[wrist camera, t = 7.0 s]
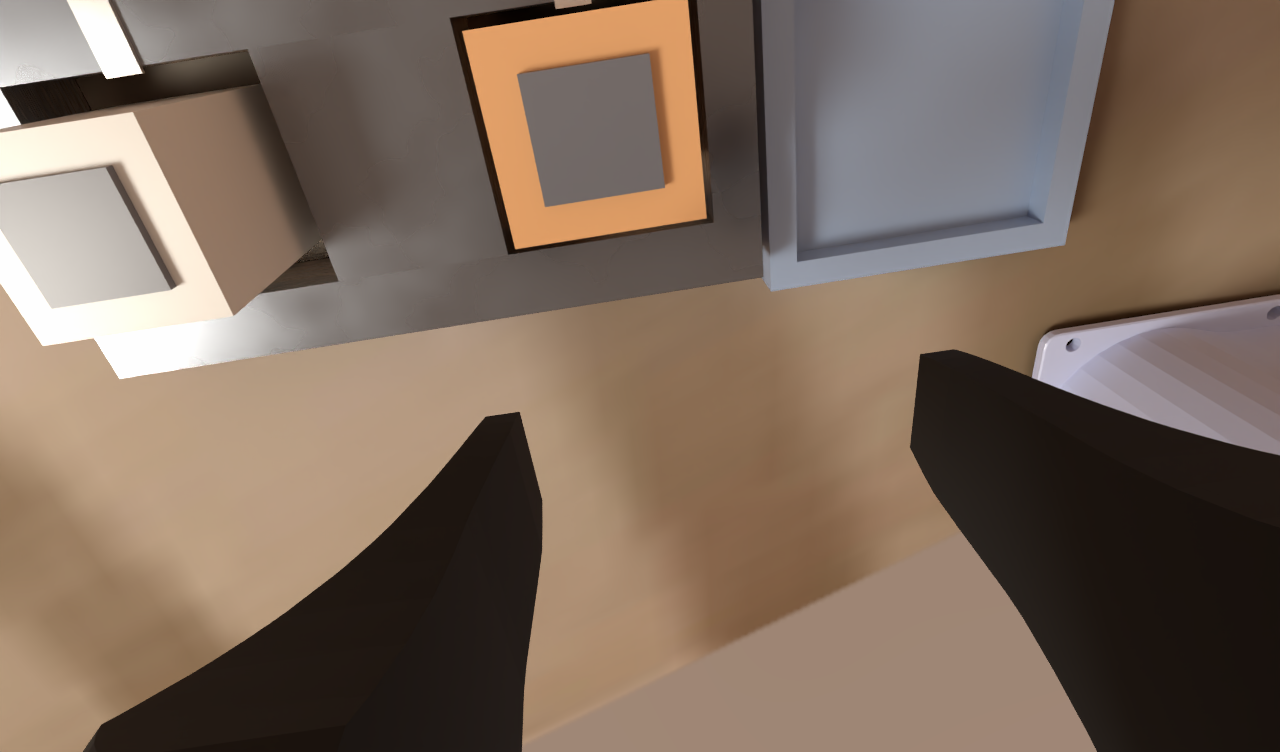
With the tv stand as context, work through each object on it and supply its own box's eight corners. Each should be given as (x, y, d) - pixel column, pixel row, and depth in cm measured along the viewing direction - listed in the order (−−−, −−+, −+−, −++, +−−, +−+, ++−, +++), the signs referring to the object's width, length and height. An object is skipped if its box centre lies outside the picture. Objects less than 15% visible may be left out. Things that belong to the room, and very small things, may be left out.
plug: (652, 1, 16) (689, -6, 11) (670, 161, 18) (708, 220, 13) (498, 26, 16) (460, 31, 11) (533, 183, 18) (514, 252, 13)
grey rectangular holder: (723, -114, 15) (747, -135, 13) (744, 249, 20) (764, 278, 18) (-23, 2, 15) (-123, -1, 13) (168, 340, 20) (117, 380, 18)
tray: (1104, -118, 16) (1140, -127, 15) (1039, 233, 20) (1064, 245, 19) (746, -62, 16) (759, -68, 15) (761, 277, 20) (770, 291, 19)
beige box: (273, 81, 17) (125, 113, 11) (330, 231, 19) (228, 320, 13) (119, 105, 17) (-103, 148, 11) (193, 252, 19) (36, 350, 13)
